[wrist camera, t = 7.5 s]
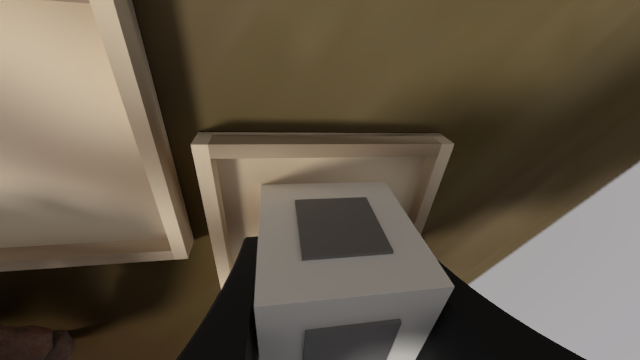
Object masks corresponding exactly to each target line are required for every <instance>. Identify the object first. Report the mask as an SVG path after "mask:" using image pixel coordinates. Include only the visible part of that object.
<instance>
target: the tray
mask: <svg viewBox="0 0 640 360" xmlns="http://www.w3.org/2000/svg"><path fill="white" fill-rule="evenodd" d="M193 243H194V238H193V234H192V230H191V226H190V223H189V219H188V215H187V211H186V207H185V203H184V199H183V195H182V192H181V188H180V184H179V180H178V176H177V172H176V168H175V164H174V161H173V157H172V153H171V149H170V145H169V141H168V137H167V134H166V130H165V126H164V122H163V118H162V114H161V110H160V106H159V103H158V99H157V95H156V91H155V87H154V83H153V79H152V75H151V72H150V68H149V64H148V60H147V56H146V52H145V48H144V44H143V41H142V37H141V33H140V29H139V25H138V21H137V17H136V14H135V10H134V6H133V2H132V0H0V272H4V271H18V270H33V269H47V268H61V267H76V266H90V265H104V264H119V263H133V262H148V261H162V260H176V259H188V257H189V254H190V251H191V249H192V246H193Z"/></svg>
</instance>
